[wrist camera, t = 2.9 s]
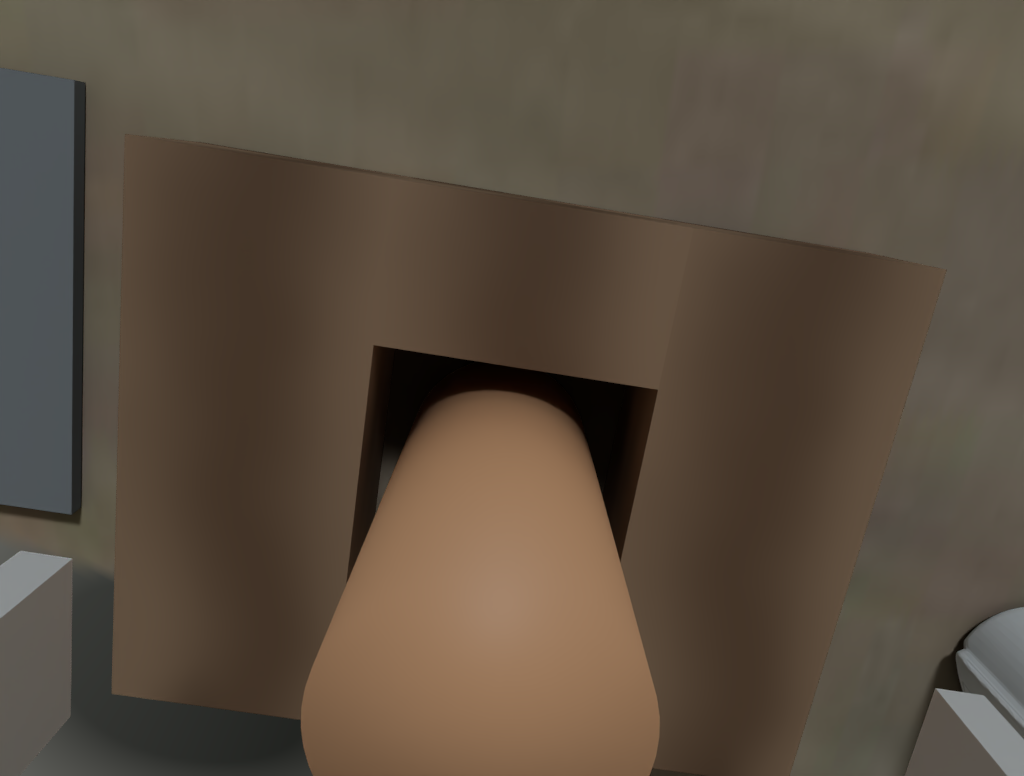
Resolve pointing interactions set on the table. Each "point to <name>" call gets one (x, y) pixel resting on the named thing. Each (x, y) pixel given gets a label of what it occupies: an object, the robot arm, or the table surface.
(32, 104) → the mat
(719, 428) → the pocket block
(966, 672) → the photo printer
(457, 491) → the peg
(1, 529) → the table surface
